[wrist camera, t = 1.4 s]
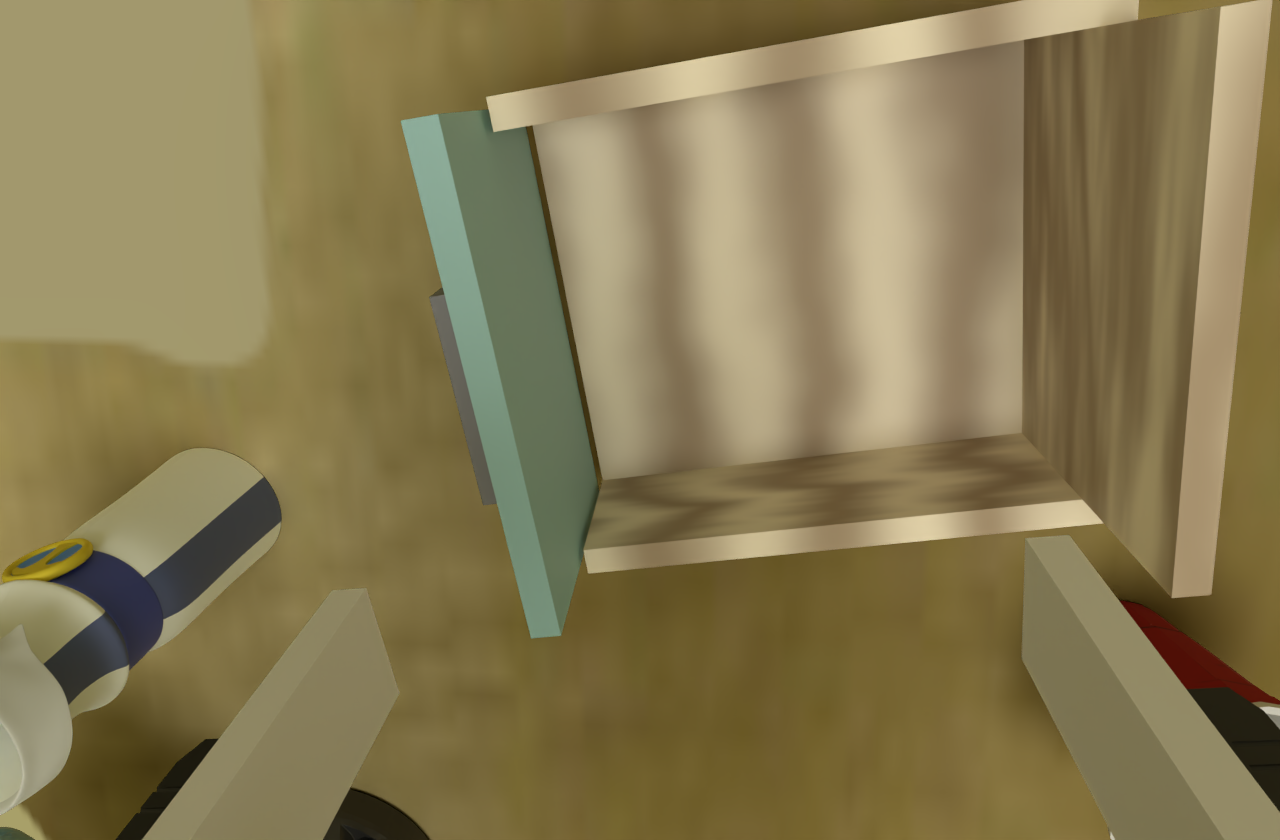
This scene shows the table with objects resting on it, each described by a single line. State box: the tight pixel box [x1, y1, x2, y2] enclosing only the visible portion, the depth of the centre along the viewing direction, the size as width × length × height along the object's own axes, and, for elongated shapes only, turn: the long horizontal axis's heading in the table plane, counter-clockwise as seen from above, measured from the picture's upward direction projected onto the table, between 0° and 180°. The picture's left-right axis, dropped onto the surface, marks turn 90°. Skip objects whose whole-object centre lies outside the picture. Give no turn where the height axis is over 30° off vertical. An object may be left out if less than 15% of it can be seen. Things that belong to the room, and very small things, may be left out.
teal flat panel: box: [401, 110, 599, 638], centre depth 34 cm, size 2×19×12 cm, turn 10°
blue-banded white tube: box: [0, 448, 281, 815], centre depth 37 cm, size 8×8×25 cm
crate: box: [486, 0, 1272, 598], centre depth 33 cm, size 22×20×17 cm
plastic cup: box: [1108, 601, 1280, 840], centre depth 42 cm, size 11×11×12 cm
